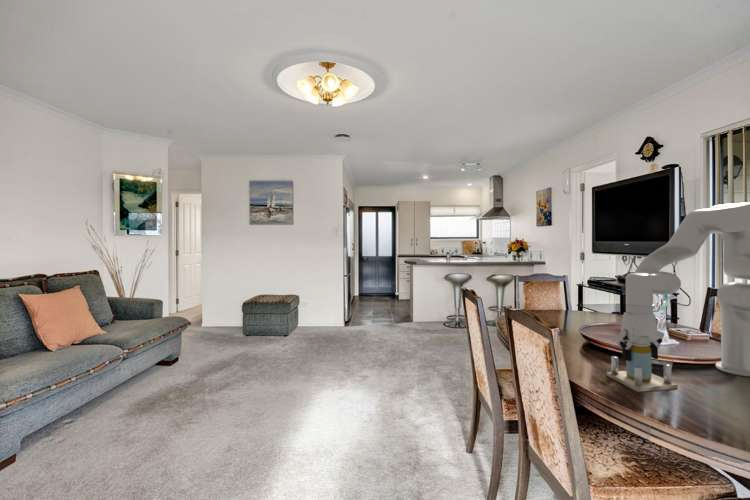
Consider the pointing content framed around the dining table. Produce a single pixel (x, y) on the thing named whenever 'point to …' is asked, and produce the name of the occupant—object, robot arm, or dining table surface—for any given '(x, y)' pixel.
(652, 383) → the holder base
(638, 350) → the bottle
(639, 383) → the holder pins
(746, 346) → the robot arm
